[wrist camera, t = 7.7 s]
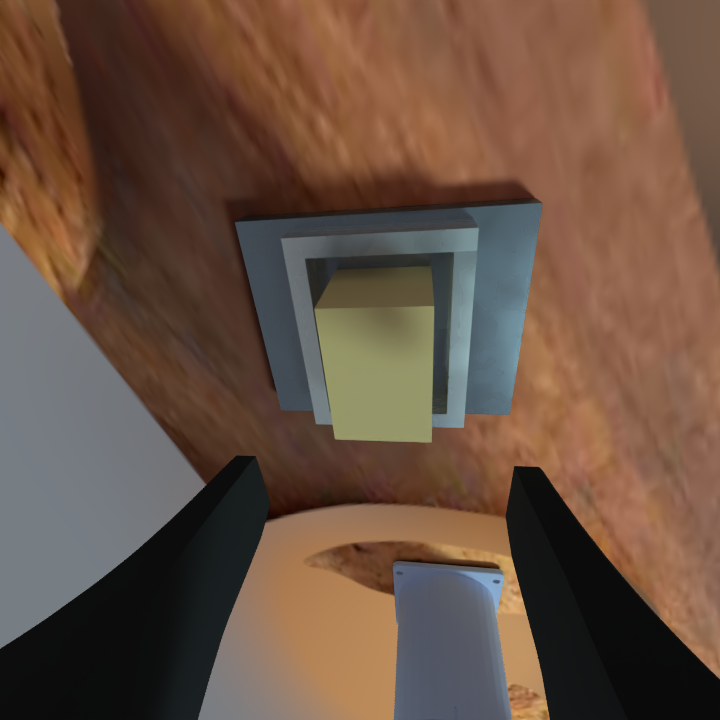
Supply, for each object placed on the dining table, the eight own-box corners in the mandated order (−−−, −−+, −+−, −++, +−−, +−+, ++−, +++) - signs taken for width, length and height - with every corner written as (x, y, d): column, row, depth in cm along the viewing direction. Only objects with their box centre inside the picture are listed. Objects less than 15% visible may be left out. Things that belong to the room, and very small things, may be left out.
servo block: (429, 384, 19) (431, 442, 15) (349, 384, 19) (334, 439, 16) (431, 266, 16) (433, 306, 12) (336, 269, 16) (314, 308, 13)
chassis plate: (505, 402, 20) (515, 435, 18) (286, 399, 22) (272, 428, 20) (535, 198, 15) (555, 211, 13) (243, 216, 17) (218, 231, 15)
